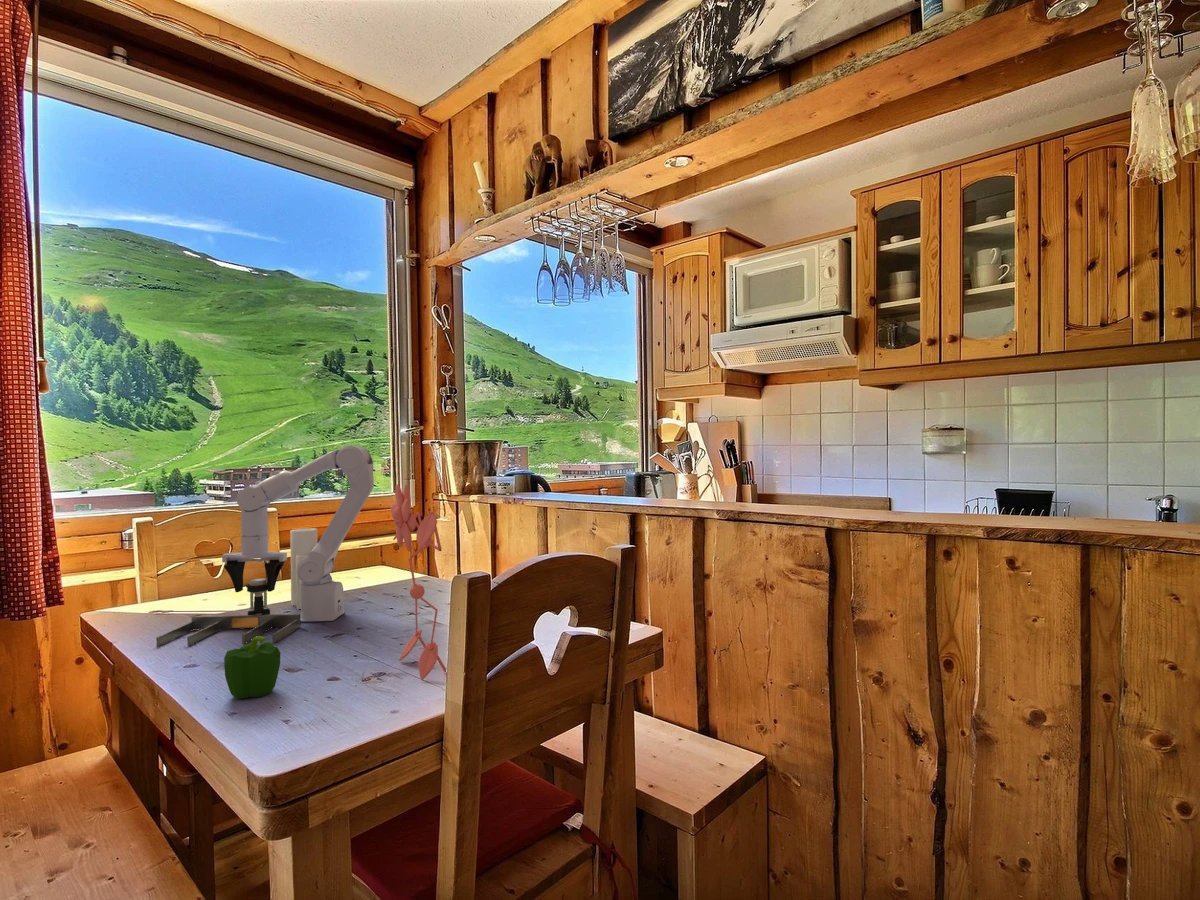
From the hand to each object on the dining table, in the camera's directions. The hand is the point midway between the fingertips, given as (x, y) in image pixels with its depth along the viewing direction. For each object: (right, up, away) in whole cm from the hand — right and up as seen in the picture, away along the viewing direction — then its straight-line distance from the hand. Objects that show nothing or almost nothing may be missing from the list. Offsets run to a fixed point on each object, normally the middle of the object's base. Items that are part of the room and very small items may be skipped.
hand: (255, 591), depth 149 cm
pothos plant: (+48, -7, -36) cm, 61 cm away
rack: (+2, -7, -12) cm, 15 cm away
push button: (0, -8, 0) cm, 8 cm away
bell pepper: (+25, -7, -45) cm, 52 cm away
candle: (+5, -8, +16) cm, 18 cm away
